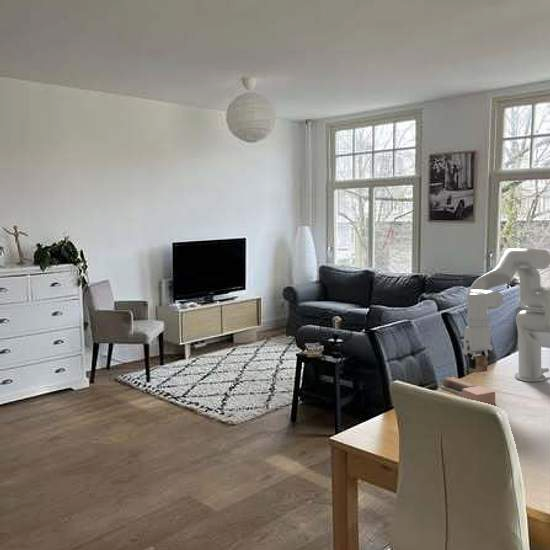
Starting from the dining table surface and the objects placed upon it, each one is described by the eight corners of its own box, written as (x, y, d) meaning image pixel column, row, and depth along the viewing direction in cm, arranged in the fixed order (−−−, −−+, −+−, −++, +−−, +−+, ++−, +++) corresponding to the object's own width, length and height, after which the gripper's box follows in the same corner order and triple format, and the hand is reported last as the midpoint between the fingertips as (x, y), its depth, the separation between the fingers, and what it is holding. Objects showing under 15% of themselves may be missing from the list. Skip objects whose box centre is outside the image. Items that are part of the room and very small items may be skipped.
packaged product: (438, 378, 245) (456, 374, 249) (439, 388, 246) (456, 385, 250) (468, 388, 229) (486, 384, 233) (468, 399, 229) (486, 395, 233)
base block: (479, 397, 230) (479, 385, 230) (495, 403, 222) (495, 391, 221) (462, 400, 227) (462, 388, 227) (477, 407, 219) (477, 394, 218)
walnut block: (478, 368, 226) (478, 353, 226) (487, 371, 222) (487, 356, 221) (468, 369, 224) (468, 355, 224) (477, 372, 220) (477, 357, 219)
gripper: (487, 319, 228) (488, 362, 229) (454, 323, 222) (454, 367, 224) (501, 322, 221) (501, 366, 222) (466, 326, 215) (467, 372, 217)
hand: (477, 366), depth 223 cm, fingers closed on walnut block, 5 cm apart
